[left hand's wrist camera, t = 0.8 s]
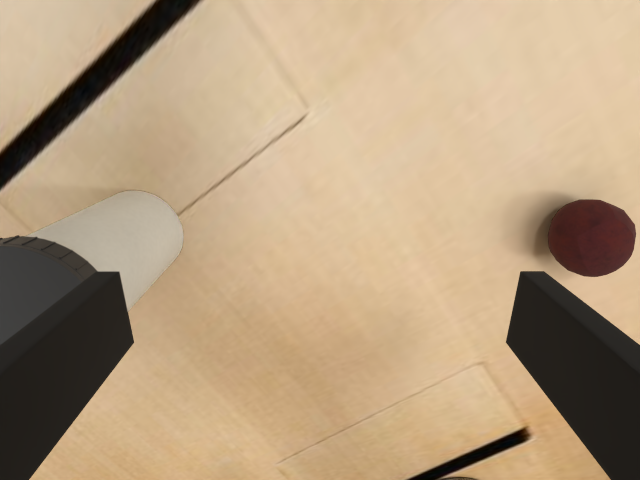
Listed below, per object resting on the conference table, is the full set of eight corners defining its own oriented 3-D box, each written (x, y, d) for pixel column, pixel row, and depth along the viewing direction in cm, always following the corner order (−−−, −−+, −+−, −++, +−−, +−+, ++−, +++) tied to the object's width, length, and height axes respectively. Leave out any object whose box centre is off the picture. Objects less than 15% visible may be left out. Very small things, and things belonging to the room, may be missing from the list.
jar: (156, 177, 39) (45, 230, 23) (198, 254, 42) (125, 347, 26) (80, 208, 40) (-76, 279, 24) (126, 281, 43) (15, 386, 28)
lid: (61, 212, 24) (42, 221, 23) (145, 339, 28) (133, 355, 26) (-68, 266, 26) (-96, 278, 24) (27, 381, 29) (8, 399, 27)
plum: (549, 269, 43) (591, 301, 36) (522, 215, 40) (561, 237, 34) (613, 235, 41) (669, 262, 35) (588, 177, 39) (643, 193, 32)
